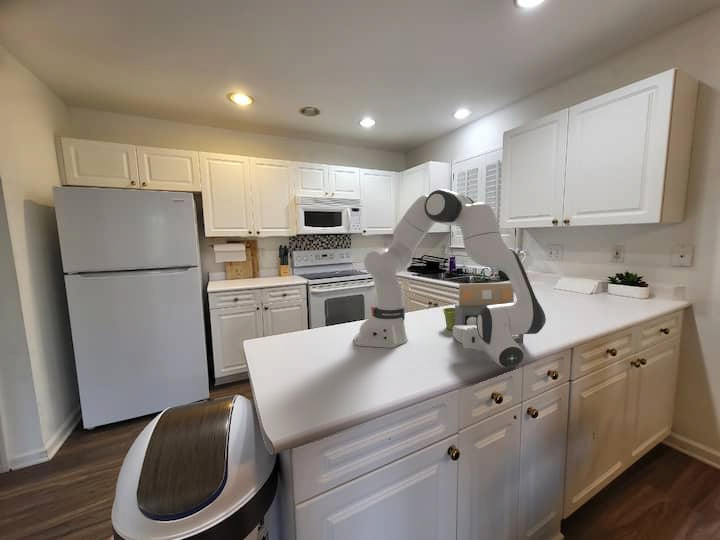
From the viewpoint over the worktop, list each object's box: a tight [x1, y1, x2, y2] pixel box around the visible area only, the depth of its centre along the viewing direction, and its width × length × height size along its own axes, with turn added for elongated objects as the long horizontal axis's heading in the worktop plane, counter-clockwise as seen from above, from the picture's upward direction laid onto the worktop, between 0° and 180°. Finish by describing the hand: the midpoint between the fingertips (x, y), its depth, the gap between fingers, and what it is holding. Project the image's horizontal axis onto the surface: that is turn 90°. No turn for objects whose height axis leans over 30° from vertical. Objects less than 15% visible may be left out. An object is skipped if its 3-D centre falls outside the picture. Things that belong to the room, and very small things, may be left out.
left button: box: [465, 316, 476, 325], centre depth 116 cm, size 4×4×4 cm
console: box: [454, 282, 525, 345], centre depth 121 cm, size 24×10×23 cm, turn 88°
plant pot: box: [442, 307, 455, 331], centre depth 137 cm, size 9×9×9 cm
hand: (475, 325), depth 112 cm, fingers closed
